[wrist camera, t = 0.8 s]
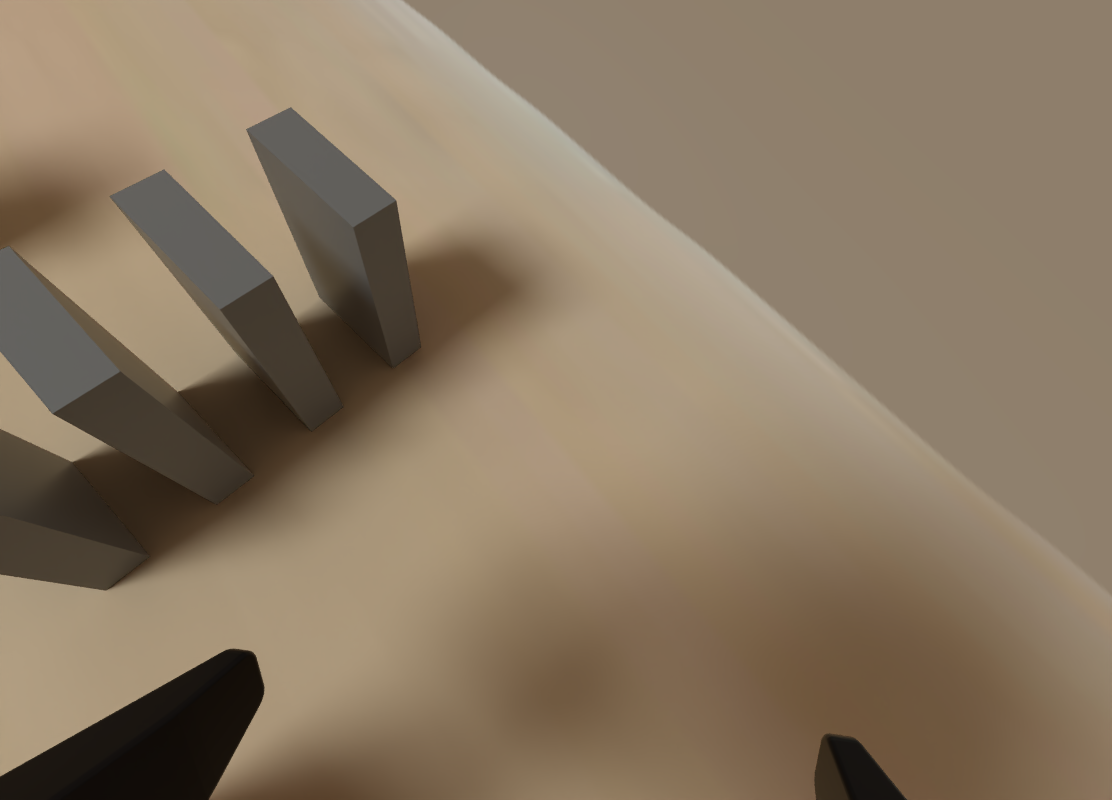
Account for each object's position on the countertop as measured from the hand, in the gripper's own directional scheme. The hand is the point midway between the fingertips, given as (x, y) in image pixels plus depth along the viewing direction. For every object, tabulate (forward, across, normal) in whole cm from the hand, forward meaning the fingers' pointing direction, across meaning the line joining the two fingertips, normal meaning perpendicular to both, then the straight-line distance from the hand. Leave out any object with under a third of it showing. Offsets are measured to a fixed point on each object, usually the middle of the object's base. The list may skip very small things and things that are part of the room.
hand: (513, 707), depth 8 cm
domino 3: (+14, +13, 0) cm, 19 cm away
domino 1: (+10, +16, +2) cm, 19 cm away
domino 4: (+16, +11, -2) cm, 20 cm away
